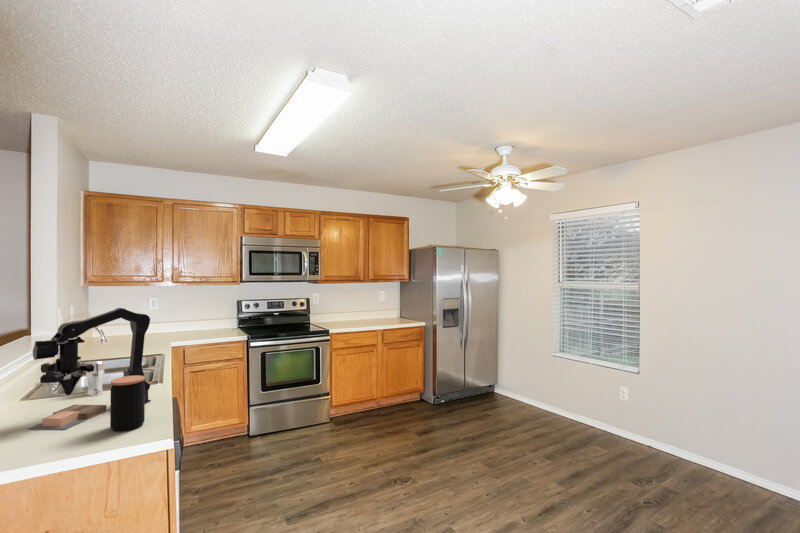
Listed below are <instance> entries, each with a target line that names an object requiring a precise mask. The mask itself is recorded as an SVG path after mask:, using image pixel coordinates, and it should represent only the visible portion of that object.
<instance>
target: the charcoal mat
mask: <svg viewBox="0 0 800 533" xmlns="http://www.w3.org/2000/svg"><path fill="white" fill-rule="evenodd" d="M85 421H88V420H87V419H77V420H75V421H73V422H70V423H68V424H66V425H64V426H61V427H45V426H43V422H41V423H38V424H35V425H33V426H31V427H29V428H28V430H37V431H38V430H47V431H48V430H49V431H53V430H54V431H66V430H68V429H71V428H72V427H74V426H77V425H79V424H81V423H83V422H85Z"/></svg>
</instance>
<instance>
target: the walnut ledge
mask: <svg viewBox="0 0 800 533" xmlns="http://www.w3.org/2000/svg"><path fill="white" fill-rule="evenodd" d="M60 411H79V419H87V420H86V421H88V420H89V419H92V418H94V417H97V416H98V415H101V414H103V413H105V411H106V412H107V404H73V405H70V406H67V407H65V408H61V409H59V410H56V411H53V412H52V415H53V414H55V413H58V412H60Z"/></svg>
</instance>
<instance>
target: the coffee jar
mask: <svg viewBox="0 0 800 533" xmlns="http://www.w3.org/2000/svg"><path fill="white" fill-rule="evenodd" d="M144 380H146V377H145V375H144V376H138V375H135V376H125V377H123V376H120V377H117V378H114V379H111V381H110V384H111V385H112V386H111V387H110V404H109V405H110V408H109V410H110V415H109V416H110V421H109V422H110V424H109V426H110V428H111V430H112V431H113V432H117V433H121V432H129V431H132V430H136V429H139V428H140V427H142V425H144V422H145V420H146V419H145V416H146V415H145V410H146V407H145V404H146V403H145V383H144V382H143V381H144Z"/></svg>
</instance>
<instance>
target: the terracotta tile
mask: <svg viewBox="0 0 800 533" xmlns="http://www.w3.org/2000/svg"><path fill="white" fill-rule="evenodd" d="M77 419H79V411H60V412H58V413H55V414H53V413H52V414H51V415H47V416H45V417H43V418H42V423H43V426H45V427H61V426H64V425H66V424H68V423H70V422H73V421H75V420H77Z"/></svg>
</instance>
